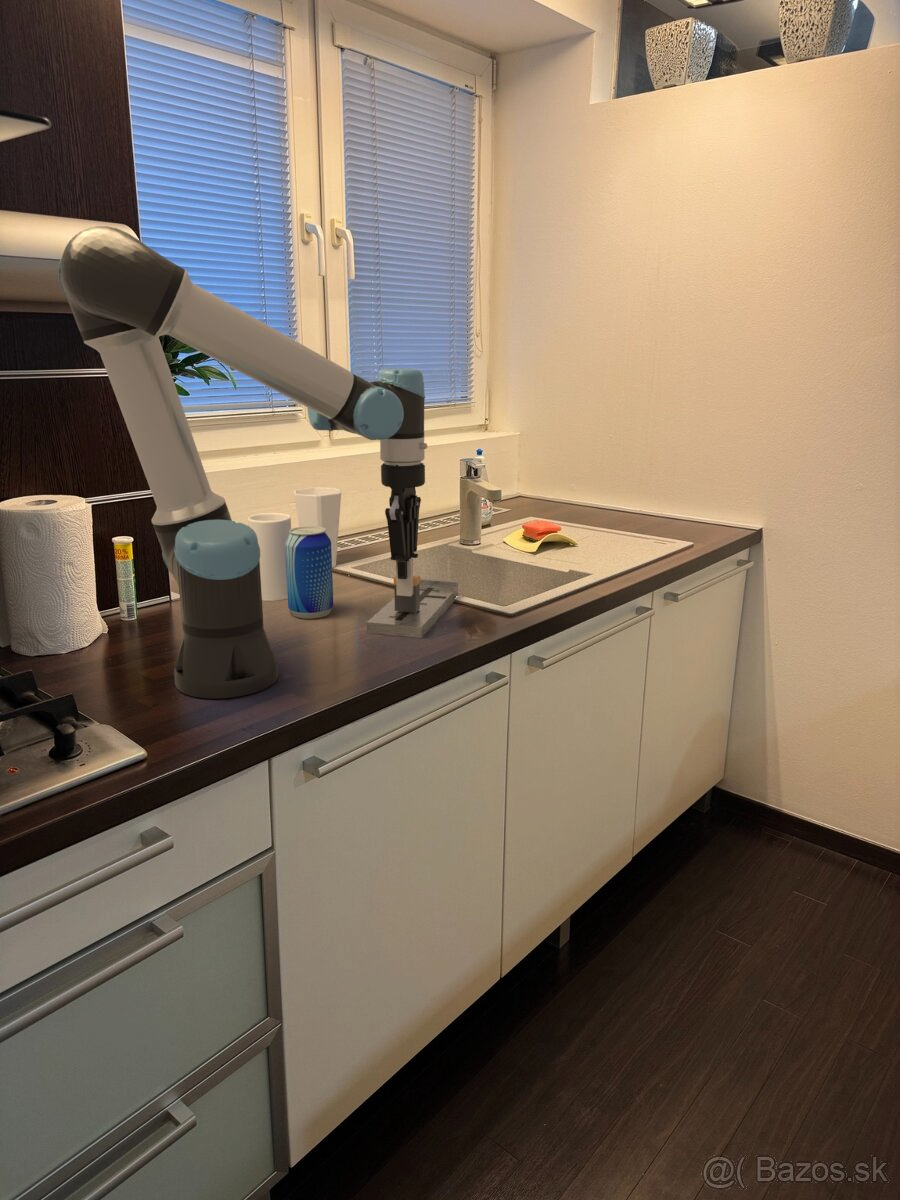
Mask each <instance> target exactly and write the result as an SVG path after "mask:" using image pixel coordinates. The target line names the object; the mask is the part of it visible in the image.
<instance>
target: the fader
mask: <svg viewBox="0 0 900 1200" xmlns="http://www.w3.org/2000/svg"><path fill="white" fill-rule="evenodd" d="M420 578H421V576H420V575H413V592H414V594H413V595H412V596H399V595H397V590H396V575H395V576H394V577H393V585H394V587H393V588H394V589H393V590H394V597H395V611H402V612H414V613H416V612H417V611H418V610H419V609H420Z"/></svg>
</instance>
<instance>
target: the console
mask: <svg viewBox="0 0 900 1200" xmlns="http://www.w3.org/2000/svg"><path fill="white" fill-rule="evenodd" d="M456 596H458V597H459V580H449V579H436V578H422V577H420V609H419V610H418V611H417V612H416V613H414V612H402V611H395V596H394V597H393V598H391V600H390V601H389V602H388V603H386V605H384V606H383V607H382V608H380V610H379V611H377V612H376V613H375V614H374V615H373V616H371V618H369V619H368V620H367V621H366V633H367V634H376V635H382V636H383V635H384V636H385V635H388V636H394V637H395V636H396V637H407V638H415V639H416V638H418V639H422V638H423V637H424V636H425V635H426V633H428V631H429V630H430V629H431V628H432V627H433V626H434V625H435V623H436V622H437V621H438V620H439V619H440V618H441V617H442V615H443V614H445V612H446V611H447V610H448V608H450V607H451V605H452V604H453V603H454V602H455V600H456V599H457V598H456ZM455 598H456V599H455Z"/></svg>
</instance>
